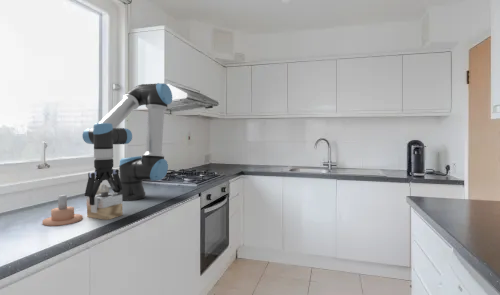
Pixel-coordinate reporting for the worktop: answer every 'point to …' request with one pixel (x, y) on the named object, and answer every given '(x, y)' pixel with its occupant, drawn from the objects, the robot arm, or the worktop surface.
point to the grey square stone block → (106, 200)
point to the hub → (62, 214)
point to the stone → (102, 189)
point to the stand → (106, 211)
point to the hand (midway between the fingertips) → (104, 209)
